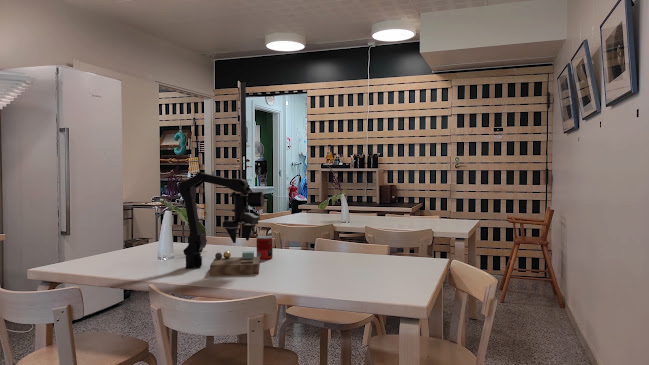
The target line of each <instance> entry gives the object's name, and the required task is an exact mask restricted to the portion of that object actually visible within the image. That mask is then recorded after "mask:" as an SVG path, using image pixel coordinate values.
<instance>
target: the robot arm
mask: <svg viewBox="0 0 649 365" xmlns="http://www.w3.org/2000/svg"><path fill="white" fill-rule="evenodd" d="M204 183H207V184H208V183H209V184H212V185H217V186H222V187H226V188H228V189H229V190H231V191H232V193H230V195H229V197H230V198H233V200H234V201H233V203H234V204H233V205H234V208H233V209H232V213H234V214H233V215H234V218H231V220H223V221H222V228H224V230H225V231H226V232H227V233H228V235H229V237H230V239H231V241H232V243H233V244H236V243H237V233H238V231H239V226H241V225H242V228H243V232H244V237H245V241H249V240H250V237H251V234H252V231H253V229H254V228H255V227H256V226H257V225H259V221H260V220H261V215H260V213H259V212H254V213H251V212H250V209H249V208H263V207H264V206H265V197H264V193H263V191H256V192H255V191H253V190H252V189H251V187H250V186H249V181H248V180H246V179H243V178H227V177H223V176H218V175H214V174H210V173H206V172H198V173H197V174H195V175H193V176H192V177H191V178H188V179H187V180H185V181H181V182H180V183H179V184H178V187H177V188H178V191H179V194H180V196H181V199H182V200H183V201H184V205H185V212H186V217H187V222H188V223H187V224H188V230H189V235H188V238H187V239H188V240H187V241H188V244H187V246H186V247H185V248H184V249H183V250H182V251H183V254H184V255H185V267H184V269H200V268H201V267H202V266H203V255H202V252H203V250H204V248H205V247H206V246H207V243H208V240H207V234H206V232H205V233H204V232H203V231H202V230H201V227H200V220H199V215H198V209H197V203H196V197H197V188H199V187H200V186H201V185H202V184H204ZM248 206H249V208H248Z"/></svg>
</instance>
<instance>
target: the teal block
mask: <svg viewBox="0 0 649 365" xmlns="http://www.w3.org/2000/svg"><path fill="white" fill-rule="evenodd" d="M241 255H242V256H241V257H242V259H254V257H255V251H253V250H250V251H249V250H247V251H246V250H245V251H242V254H241Z"/></svg>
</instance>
